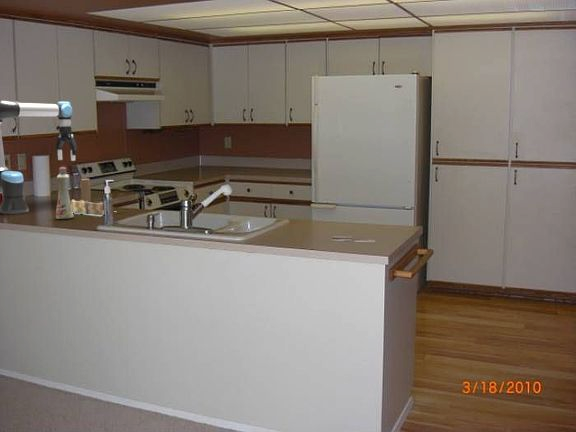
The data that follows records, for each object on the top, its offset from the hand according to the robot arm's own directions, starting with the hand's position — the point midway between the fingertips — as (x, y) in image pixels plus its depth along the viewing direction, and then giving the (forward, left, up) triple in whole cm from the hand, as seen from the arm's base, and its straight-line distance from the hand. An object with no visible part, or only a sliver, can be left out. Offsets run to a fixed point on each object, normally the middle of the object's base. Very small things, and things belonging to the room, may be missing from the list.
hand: (66, 160), depth 440 cm
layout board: (-24, -54, -27) cm, 65 cm away
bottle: (-47, -56, -27) cm, 78 cm away
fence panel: (-30, -47, -26) cm, 61 cm away
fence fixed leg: (-30, -60, -27) cm, 72 cm away
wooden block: (-17, -34, -27) cm, 47 cm away
